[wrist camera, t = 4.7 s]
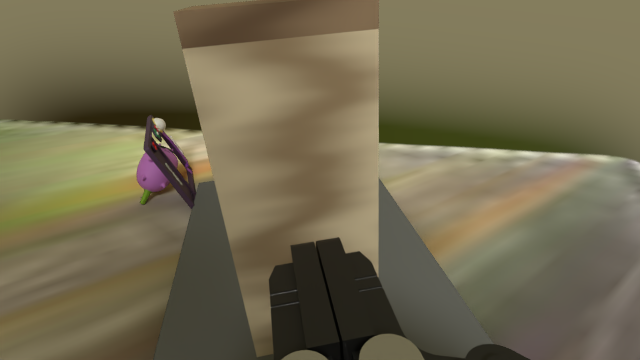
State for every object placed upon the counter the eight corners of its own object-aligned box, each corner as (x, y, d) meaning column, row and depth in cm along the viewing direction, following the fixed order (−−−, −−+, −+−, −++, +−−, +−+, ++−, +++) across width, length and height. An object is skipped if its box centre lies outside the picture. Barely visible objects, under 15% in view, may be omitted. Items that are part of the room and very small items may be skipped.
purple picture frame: (157, 141, 27) (158, 110, 35) (92, 177, 26) (107, 137, 34) (206, 206, 31) (198, 165, 38) (150, 239, 30) (153, 191, 38)
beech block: (256, 357, 17) (173, 11, 10) (255, 295, 21) (192, 6, 14) (378, 332, 18) (378, -7, 11) (357, 277, 22) (347, -8, 14)
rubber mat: (126, 489, 14) (121, 481, 13) (200, 188, 34) (198, 183, 34) (521, 397, 15) (524, 388, 15) (365, 164, 36) (365, 159, 36)
